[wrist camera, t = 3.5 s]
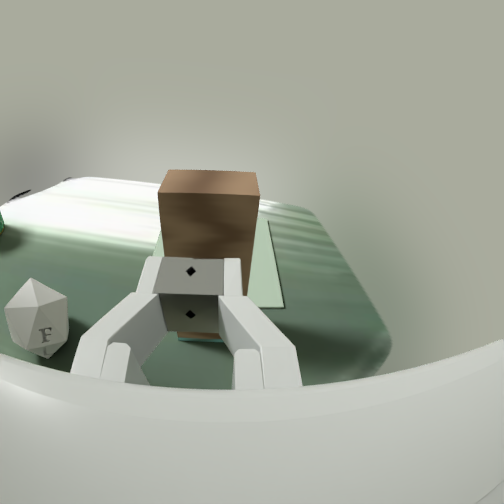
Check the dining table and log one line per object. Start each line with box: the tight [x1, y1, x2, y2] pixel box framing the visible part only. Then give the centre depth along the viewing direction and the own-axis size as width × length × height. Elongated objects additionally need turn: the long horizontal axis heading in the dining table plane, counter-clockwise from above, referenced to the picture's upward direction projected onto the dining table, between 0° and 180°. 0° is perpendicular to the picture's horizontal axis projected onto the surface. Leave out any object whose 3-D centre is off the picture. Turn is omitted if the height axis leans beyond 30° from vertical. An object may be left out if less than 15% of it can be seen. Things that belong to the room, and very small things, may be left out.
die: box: [4, 278, 69, 359], centre depth 23 cm, size 8×9×10 cm
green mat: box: [153, 218, 284, 308], centre depth 41 cm, size 18×20×1 cm
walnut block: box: [158, 170, 260, 342], centre depth 26 cm, size 7×4×18 cm, turn 94°
